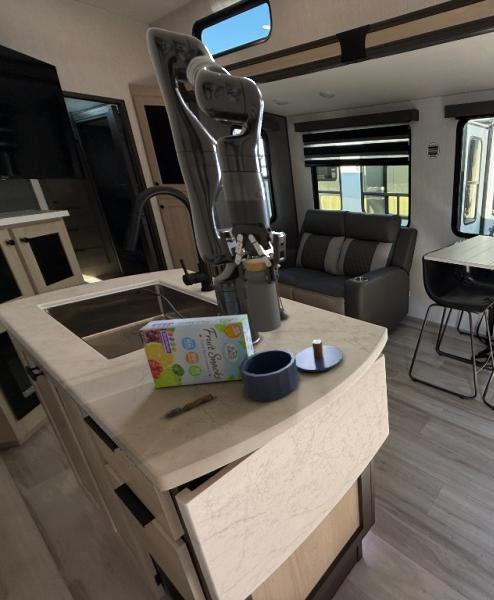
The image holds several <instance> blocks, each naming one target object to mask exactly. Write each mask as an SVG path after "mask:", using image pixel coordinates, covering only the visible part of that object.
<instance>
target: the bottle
mask: <svg viewBox="0 0 494 600" xmlns="http://www.w3.org/2000/svg"><path fill="white" fill-rule="evenodd" d="M244 263H245V266H246V268H247V269H246V270H245V275H246V276H248V277H249V280H247V281H246V282H245V287H246V293H247V299H248V304H249V310H250V316H251V321H252V326H253V330H254V331H256V332H259V333H269V332H274V331H275V330H278V329H279V328H281V326H282V322H281V321H282V320H280V313H279V306H278V299H277V292H276V285H275V283H274V284H269V283H268V277H267V271H266V266H267V265H266V263H265V262H264V260H263V258H262V257H261V258H250V260H247V261H245V262H244Z"/></svg>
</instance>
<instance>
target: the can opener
mask: <svg viewBox="0 0 494 600" xmlns="http://www.w3.org/2000/svg"><path fill="white" fill-rule="evenodd" d="M213 398H214V395H213V394H212V393H209V394H206V395H204V396H202V397H199V398H197V399H195V400H193V401H191V402H188V403H186V404H185V405H183V407H177V408H174V409H171V410H169V411H167V412H166V413H165V414H163V417H164V416H167V417H168V418H170V417H172V416H174V414H179V413H181V412H183V411H184V410H185V411H186V410H189V409H191V408H193V407H196V406H198V405H201V404H203V403H206V402H207V401H209V400H212V399H213ZM169 414H170V415H169Z"/></svg>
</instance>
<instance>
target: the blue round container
mask: <svg viewBox="0 0 494 600" xmlns="http://www.w3.org/2000/svg"><path fill="white" fill-rule="evenodd" d="M295 356H296V355H295V354H294V352H292V351H289V350H288V349H282V348H275V349H274V348H273V349H266V350H262V351H258V352H256V353H254V354H253V355H251V356H249V357H248V358H246V359H245V360H243V362H242V363H241V365H240V372H241V377H242V379H241V382H242V387H243V392H244V395H245V397H246V398H247V399H248V400H250V401H253V402H258V403H266V402H267V403H268V402H272V401H273V402H274V401H277V400H280V399H282V398H284V397H286V396H288V395H290V394H291V393H292V392H293V391H294V390H295V389H296V388H297V386H298V384H299V374H298V368H297V367H296V359H295Z"/></svg>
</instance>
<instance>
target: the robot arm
mask: <svg viewBox="0 0 494 600" xmlns="http://www.w3.org/2000/svg"><path fill="white" fill-rule="evenodd" d="M145 39H146V46H147V51H148V55H149V58H150V62H151V64H152V65H151V66H152V68H153V72H154V74H155V78H156V81H157V84H158V87H159V90H160V94H161V97H162V99H163V103H164V107H165V110H166V113H167V118H168V122H169V126H170V130H171V131H170V132H171V134H172V140H173V144H174V149H175V152H176V156H177V161H178V165H179V168H180V172H181V175H182V179H183V182H184V186H185V190H186V194H187V199H188V203H189V206H190V207H189V208H190V212H191V218H192V225H193V232H194V238H195V242H196V243H195V244H196V247H197V251H198V253H199V256H200V258H201V259H202V261H203V262H204V263H205V264H206V265H207V266H209V267H219V266H222V265H225V267H224V269H223V270H222V271H221V272H220V273H219V274H217V275H216V276H215V277H214V278H213V280H212V286H213V290H214V294H215V299H216V304H217V308H218V313H217V315H216V317H217V316H231V315H245V314H247V317H248V323H249V328H250V334H251V340H252V345H253V346H254V345H255V344H257V343H259V342H260V341H261V334H260V332H256V331H254V330H253V326H252V321H251V316H250V310H249V304H248V299H247V293H246V287H245V282H246V281H247V280H249V277H248V276H246V275H245V270H246V269H247V268H246V266H245V263H244V262H245V261H247V260H250V259H251V257H250V254H251V253H252V251H253V252H257V255H258V256H259V257H261V258H263V260H264V262H265V263H266V265H267V266H266V271H267V277H268V283H269V284H274V283H276V282H277V281H278V280H279V279H280V275H279V268H278V267H277V265H278V264H281V263H282V262H285V261H286V257H287V256H286V254H287V251H286V250H287V249H286V248H287V247H286V246H287V234H286V233H285V232H283V231H282V232H275V231H273V230H272V228H271V225H270V222H271V215H270V206H269V200H268V199H269V198H268V193H267V186H266V181H265V179H264V173H263V168H262V160H261V153H260V152H261V151H260V142H261V141H260V140H261V139H260V137H261V128H262V122H263V121H262V120H263V113H264V97H263V95H262V92H261V89H260V88H259V86H258V84H256V83H255V81H253V80H252V79H250V78H247V77H241V76H236V75H232V74H230V73H229V72H228V70H226V69H225V68H224V67H222V66H221V65H220V64H219V63H217V62H216V61H215V59H214V58H213V56H212V54H211V52H210V51H209V49H208V47H207V46H206V45H205V43H203V42H202V41H201V40H200V39H198V37H196V36H193V35H190V34H187V33H181V32H177V31H172V30H168V29H165V28H159V27H149V28H148V29H147V31H146V38H145ZM177 83H183V84H188V85H189V87H190V88H191V89H192V91H193V92H194V96H195V101H196V105H197V106H198V109H199V110H200V112H201V113H202V114H203V115H204V116H206V117H207V118H210V119H212V120H216V121H222V122H231V123H241V130H240V132H239V133H237V134H232V135H225V136H221V137H219V138H217V140H216V139H215V138H214V136H213V135H212V134H211V133H210V131H209V130H208V129H207V128H206V127H205V125H203V123H202V122H201V121H200V120H199V118H198V117H197V116H196V115H195V114H194V112H193V111H192V110H191V109H190V107H189V106H188V104H187V103H186V101H185V99H184V98H183V95H182V94H181V92H180V89H179V87H178V85H177ZM221 191H222V192H223V198H224V203H225V209H226V214H227V221H228V223H229V224H231V227H230V226H229V227H223V228H222V227H221V228H218V227H217V222H216V205H217V202H218V198H219V196H220V193H221ZM278 282H279V281H278ZM142 291H143V292H148V293H151V294H154V295H156V296H158V297H160V298H162V299H163V300H164V301H165V302H166V303H167V304H168V306H169V307H170V309H171V310H172V311H173V312H174V313H175V314H176V315H177V316H178V317H179V319H187V318H186V317H185V316H183V315H181V313H179V311H177V310H176V308H175V307H174V305H172V303H171V302H170V300H168V298H166V297H165V296H164V295H162V294H161V293H159V292H157V291H153V290H150V289H147V288H139V289H138V290H137V293H140V292H142Z"/></svg>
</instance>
